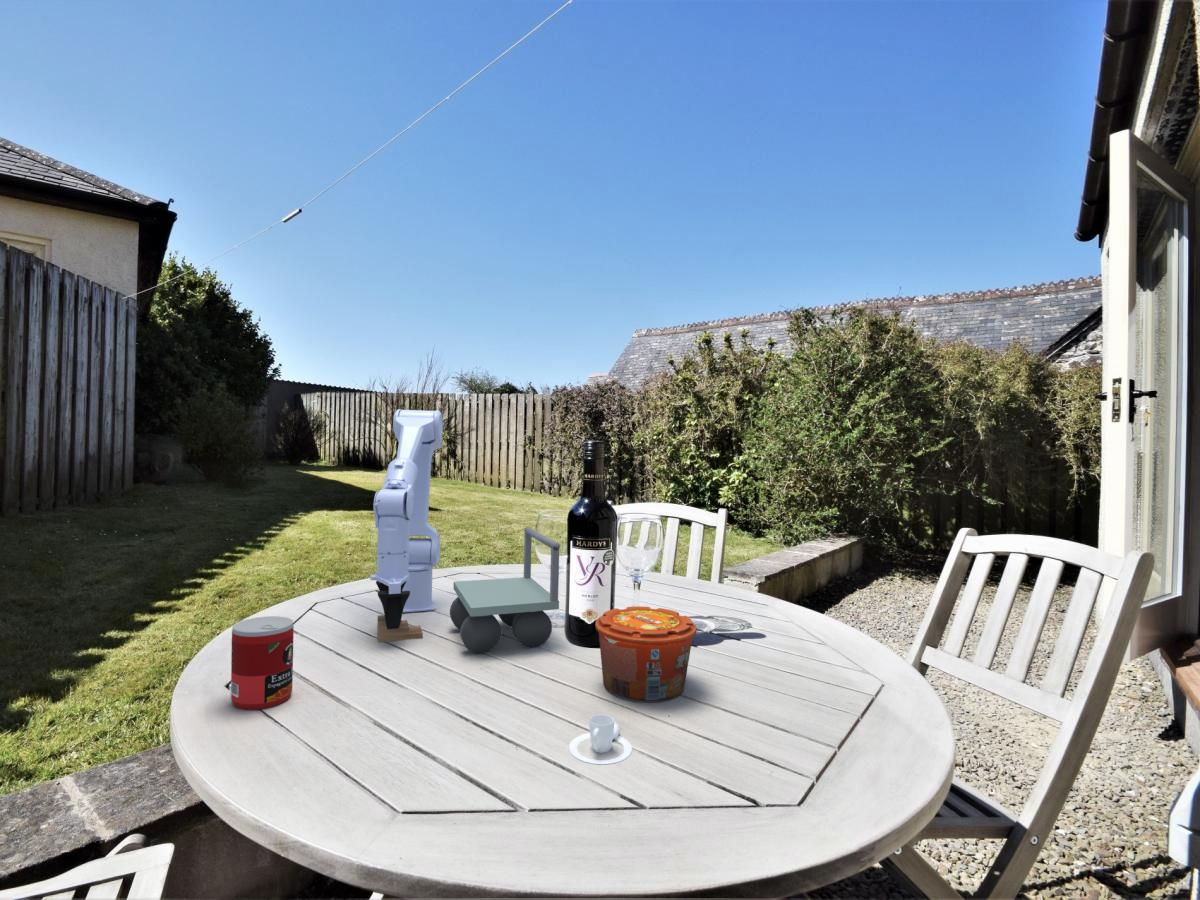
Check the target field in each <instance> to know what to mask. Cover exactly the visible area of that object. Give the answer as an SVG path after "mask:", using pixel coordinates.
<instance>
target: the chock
mask: <svg viewBox="0 0 1200 900" xmlns="http://www.w3.org/2000/svg"><path fill="white" fill-rule="evenodd" d="M376 620H377V623H376V624H377V625H376V629H377V630H376V631H377V632H376V637H377V643H386V642H395V641H397V642H398V641H406V640H418V639H423V637H424V635H423V634H424V633H423V630H422V626H421V624H420V625H409V622H408V619H401V623H400V626H399V628H398V629H387V626H386V621H385V614H381V615H380V614H379V615H377V619H376Z"/></svg>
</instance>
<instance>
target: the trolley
mask: <svg viewBox="0 0 1200 900" xmlns="http://www.w3.org/2000/svg"><path fill="white" fill-rule="evenodd" d="M523 532H524V541H523V542H524V545H523V546H524V549H523V554H524V555H523V577H508V578H507V577H506V578H493V579H492V578H491V579H490V578H489V579H475V580H460V581H459V580H458V581H453V591H454V592H455V594H456V595H457V597H456V598H455V599H454V600H453V601H452V604H451V605H450V608H449V618H450V619H451V621H452V623H453V625H454V626H455V628H456V629H458V630H459V633H460V634H459V635H460V640H461V641H462V643H463V645H464V647H465V649H467V650H468V651H469V652H471V653H473V654H477V655H478V654H487V653H489V652H491V651H492V650H493V649H495V647H497V645H498V644H499V643H500V641H501V638H502V626H501V624H500V621H499V620H498V619H497V618H496V616H495V615H497V616H498V617H499V619H500V620H501V621H502V622H503V624H505V625H506V626H507V627H511V630H512V635H513V637H514V638H515V639H516V640H517V642H518V643H519V645H521V646H522V647H524V648H527V649H537V648H539V647H541V646H542V645H543V646H544V644H546V642H547V641H548V640H549V638H550V637H551V635H552V631H553V624H552V621H551V618H550V617H549V615H548V614H547V613H546V612H545V611H554V610H559V609H560V601H559V581H560V580H559V579H560V578H559V577H560V576H559V575H560V572H559V571H560V570H559V569H560V548H561V546H560V544H559V542H557V541H555V540H553V539H551V538H549V537H548V536H545V535H543V534H542V533H541V532H538V531H537V530H534V529H533V528H531V527H529V526H526V527H525V528H524V531H523ZM532 538H533V539H534V540H536V541H538V542H540V543H542V545H543V544H544V545H545V546H547V547H548V548H550V578H549V579H550V580H549V581H550V582H549V591H547V590H546V589H545V588H544V587H543V586H542V585H540V584H539V583H538V582H537V581H536V580H534V578H532V577H531V575H532V573H531V571H532V543H533V542H532V541H533V540H532Z"/></svg>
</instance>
